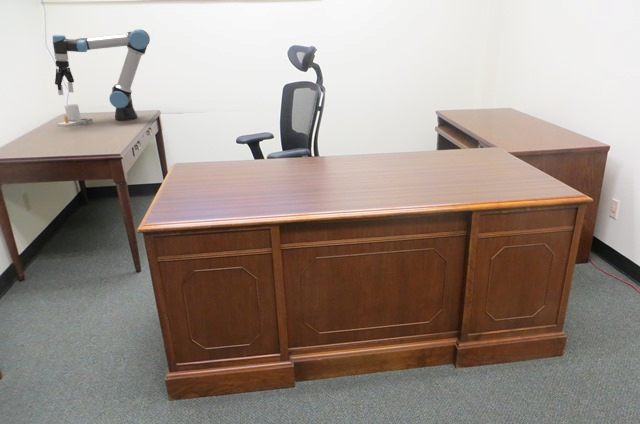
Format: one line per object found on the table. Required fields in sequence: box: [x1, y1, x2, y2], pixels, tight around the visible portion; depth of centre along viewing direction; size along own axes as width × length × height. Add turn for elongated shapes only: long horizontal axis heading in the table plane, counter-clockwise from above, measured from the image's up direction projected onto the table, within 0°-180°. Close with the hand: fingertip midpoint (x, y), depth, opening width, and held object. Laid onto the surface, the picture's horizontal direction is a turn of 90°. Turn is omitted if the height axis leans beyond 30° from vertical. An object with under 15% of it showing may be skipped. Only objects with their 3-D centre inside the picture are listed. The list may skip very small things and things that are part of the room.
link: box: [76, 117, 94, 126], centre depth 324 cm, size 7×7×3 cm
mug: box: [64, 103, 82, 122], centre depth 336 cm, size 9×12×11 cm
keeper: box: [56, 114, 77, 128], centre depth 320 cm, size 9×9×6 cm
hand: (66, 93), depth 310 cm, fingers open, 13 cm apart
